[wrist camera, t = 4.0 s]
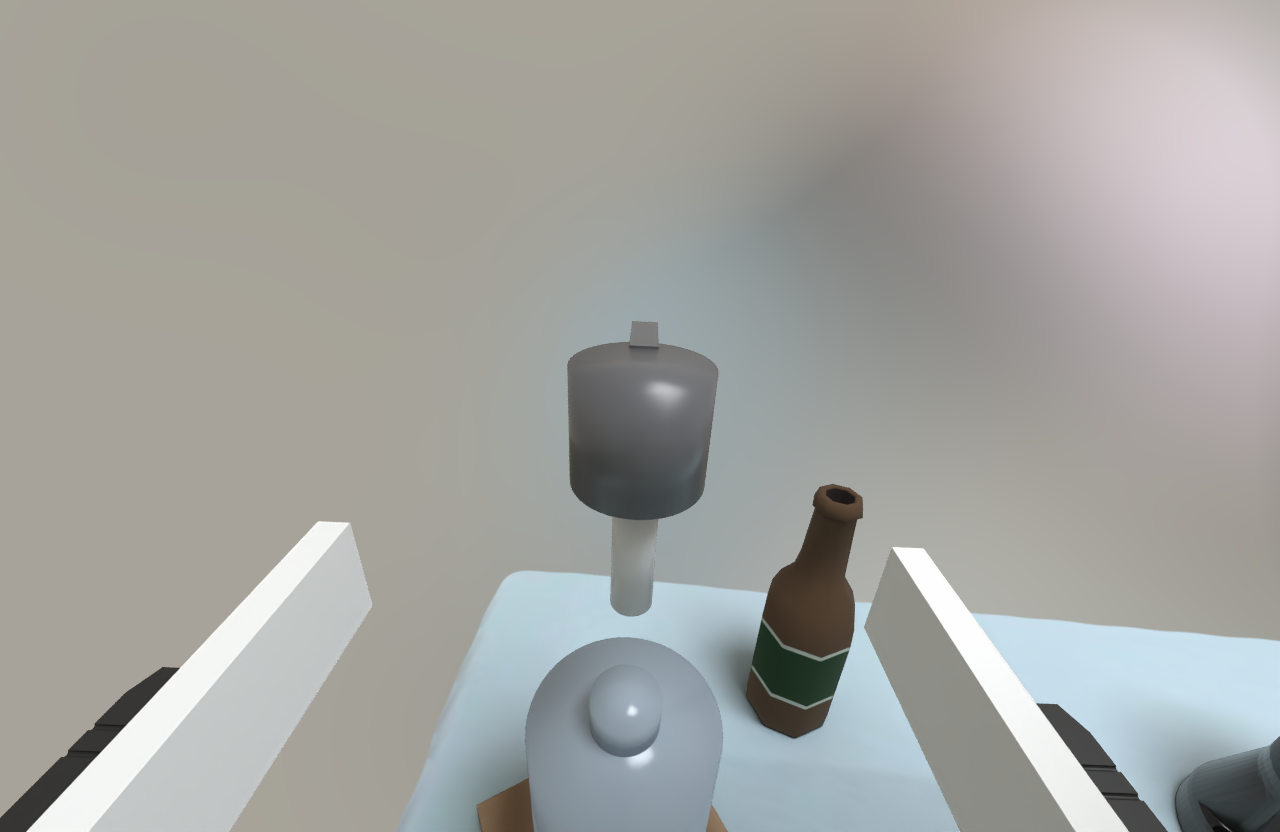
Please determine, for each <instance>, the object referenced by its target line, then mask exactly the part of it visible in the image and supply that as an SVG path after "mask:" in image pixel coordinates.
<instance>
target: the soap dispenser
mask: <svg viewBox="0 0 1280 832" xmlns="http://www.w3.org/2000/svg"><path fill="white" fill-rule="evenodd" d="M525 743H526V754H527V764H528V775H529V785H530V796H531V806H532V817H533V827H534V832H706V828H707V823H708V818H709V813H710V808H711V803H712V798H713V793H714V788H715V783H716V778H717V773H718V768H719V763H720V758H721V753H722V744H723V731H722V721H721V716H720V711H719V708H718V705H717V702H716V699H715V697H714V695H713V693H712V691H711V689H710V687H709V686H708V684H707V682H706V681H705V679H704V678H703V677H702V675H701V674H700V673H699V672H698V670H697V669H696V668H695V667H694V666H693V665H692V664H691V663H690V662H688V661H687V660H686V659H685V658H683V657H682V656H681V655H679V654H678V653H676V652H674V651H673V650H671V649H669V648H667V647H665V646H663V645H661V644H658V643H655V642H652V641H648V640H644V639H638V638H610V639H604V640H600V641H596V642H593V643H590V644H588V645H585V646H583V647H581V648H579V649H577V650H575V651H574V652H572V653H571V654H569V655H567V656H566V657H565V658H564V659H562V660H561V661H560V662H559V663H558V664H557V665H556V666H555V667H554V668H553V669H552V670H551V671H550V672H549V673H548V674H547V676H546V677H545V678H544V680H543V681H542V683H541V684H540V686H539V688H538V689H537V691H536V693H535V696H534V698H533V700H532V702H531V706H530V709H529V712H528V716H527V723H526V734H525Z"/></svg>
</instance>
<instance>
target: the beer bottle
mask: <svg viewBox="0 0 1280 832" xmlns="http://www.w3.org/2000/svg"><path fill="white" fill-rule="evenodd" d="M813 506H814V507H815V510H814V512H813V515H812V518H811V522H810V524H809V527H808V530H807V533H806V536H805V540H804V543H803V546H802V549H801V551H800V553H799V555H798V557H797V559H796V560H795V562H793V563H792V564H790V565H788V566H786V567H784V568H782V569H781V570H780V571H779V572H778V573H777V574H776V576H775V577H774V578H773V580H772V583H771V586H770V588H769V592H768V595H767V599H766V603H765V607H764V611H763V615H762V620H761V624H760V629H759V634H758V638H757V643H756V647H755V652H754V657H753V661H752V666H751V670H750V675H749V680H748V684H747V692H746V697H747V698H748V700H749V702H750V703H751V705H752V707H753V708H754V710H755V711H756V713H757V715H758V716H759V718H760V719H761V721H762V723H763V724H764V725H765V726H767V727H770V728H772V729H774V730H777V731H779V732H782V733H784V734H786V735H789V736H791V737H794V738H796V737H798V736H801V735H803V734H805V733H807V732H810V731H812V730H814V729H816V728H819V727H821V726H822V725H823V723H824V721H825V718H826V716H827V714H828V711H829V708H830V705H831V702H832V699H833V696H834V693H835V690H836V688H837V685H838V682H839V679H840V676H841V673H842V670H843V667H844V664H845V661H846V658H847V655H848V652H849V650H850V646H851V642H852V637H853V633H854V615H855V602H854V597H853V591H852V589H851V587H850V585H849V583H848V581H847V580H846V578H845V573H846V568H847V563H848V558H849V554H850V550H851V545H852V540H853V536H854V531H855V527H856V522H857V519H860V518H862V517H863V500H862V497H861V496H860V495H858V494H857V493H856V492H854V491H853V490H852V489H850V488H847V487H842V486H838V485H835V484H831V485H826V486H822V487H819V489H818V490H817V492H816V493H815V495H814V500H813Z"/></svg>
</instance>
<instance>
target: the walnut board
mask: <svg viewBox="0 0 1280 832" xmlns="http://www.w3.org/2000/svg"><path fill="white" fill-rule="evenodd" d="M477 809H478V814H479V819H480V824H481V828H482V832H534V827H533V817H532V806H531V796H530V785H529V778H528V779H526V780H524V781H522V782H520V783H518V784H516V785H515V786H513V787H511V788H509V789H507V790H505V791H503V792H501V793H499V794H497V795H495V796H493V797H492V798H490V799H488V800H486V801H484V802H482V803H480V804H478V805H477ZM706 832H728V831H727V830H726V828H725V826H724V825H723V823H722V821H721V819H720V818H719V816H718V814H717V813H716V811H715V809H714V807H713V806H712V804H711V808H710V813H709V818H708V823H707V828H706Z"/></svg>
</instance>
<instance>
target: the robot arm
mask: <svg viewBox="0 0 1280 832" xmlns="http://www.w3.org/2000/svg"><path fill="white" fill-rule="evenodd" d="M371 607H372V602H371V598H370V595H369V591H368V587H367V584H366V580H365V576H364V573H363V569H362V565H361V562H360V558H359V554H358V551H357V547H356V543H355V539H354V536H353V532H352V528H351V525H350V523H342V522H320V521H319V522H317V523H316V524H315V525H314V526H313V528H312V529H311V530H310V531H309V532H308V533H307V534H306V535H305V536H304V537H303V538H302V539H301V540H300V541H299V542H298V543H297V545H296V546H295V547H294V548H293V549H292V550H291V551H290V552H289V553H288V554H287V555H286V556H285V557H284V558H283V559H282V560H281V561H280V563H279V564H278V565H277V566H276V567H275V568H274V569H273V570H272V571H271V572H270V573H269V574H268V576H266V577H265V578H264V580H263V581H262V582H261V583H260V584H259V585H258V586H257V587H256V588H255V589H254V590H253V591H252V593H250V594H249V596H248V597H247V598H246V599H245V600H244V601H243V602H242V603H241V604H240V605H239V606H238V607H237V608H236V609H235V610H234V611H233V613H232V614H231V615H230V616H229V617H228V618H227V619H226V620H225V621H224V622H223V623H222V624H221V625H220V626H219V627H218V629H217V630H216V631H215V632H214V633H213V634H212V635H211V636H210V637H209V638H208V639H207V640H206V641H205V642H204V643H203V644H202V646H201V647H200V648H199V649H198V650H197V651H196V652H195V653H194V654H193V655H192V656H191V657H190V658H189V659H188V661H186V662H185V664H184V665H183V666H182V667H181V668H170V667H162V668H161V669H159V670H158V671H157V672H155V673H154V674H152V675H151V676H149V677H148V678H147V679H145V680H143V681H142V682H141V683H139V684H138V685H136V686H135V687H133V688H132V689H130V690H129V691H127V692H126V693H125V694H124V695H123V696H122V697H121V698H120V699H119V700H118V701H117V702H116V703H115V704H114V705H113V706H112V707H111V708H110V709H109V710H108V711H107V712H106V713H105V714H104V715H103V716H102V717H101V718H100V719H99V720H98V721H97V722H96V723H95V726H94V728H93V729H92V730H88V731H87V732H86V733H85V734H84V735H83V736H82V737H81V738H80V739H79V740H78V741H77V742H76V743H75V744H74V745H73V746H72V747H71V748H70V749H69V750H68V754H67V755H66V756H65V757H61V758H60V759H59V760H58V761H57V762H56V763H55V764H54V765H53V766H52V767H51V768H50V769H49V770H48V771H47V772H46V773H45V774H44V775H43V776H42V777H41V778H40V779H39V780H38V781H37V782H36V783H35V784H34V785H33V786H32V787H31V788H30V789H29V790H28V791H27V792H26V793H25V794H24V795H23V796H22V797H21V798H20V799H19V800H18V801H17V802H16V803H15V804H14V805H13V806H12V807H11V808H10V809H9V810H8V811H7V812H6V813H5V814H4V815H3V816H2V817H1V818H0V832H229V831H230V830H231V828H232V826H233V824H234V823H235V822H236V820H237V818H238V817H239V815H240V814H241V812H242V811H243V809H244V807H245V806H246V804H247V803H248V801H249V800H250V798H251V796H252V795H253V793H254V792H255V790H256V789H257V787H258V785H259V784H260V782H261V781H262V779H263V778H264V776H265V774H266V773H267V771H268V769H269V768H270V766H271V765H272V763H273V762H274V760H275V758H276V757H277V755H278V754H279V752H280V751H281V749H282V747H283V746H284V744H285V743H286V741H287V740H288V738H289V736H290V735H291V733H292V732H293V730H294V729H295V727H296V725H297V724H298V722H299V721H300V719H301V718H302V716H303V714H304V713H305V711H306V710H307V708H308V707H309V705H310V703H311V702H312V700H313V699H314V697H315V695H316V694H317V692H318V691H319V689H320V688H321V686H322V684H323V683H324V681H325V679H326V678H327V677H328V675H329V673H330V672H331V670H332V669H333V667H334V665H335V664H336V662H337V661H338V659H339V658H340V656H341V654H342V653H343V651H344V650H345V648H346V647H347V645H348V643H349V642H350V640H351V638H352V637H353V636H354V634H355V632H356V631H357V629H358V628H359V626H360V624H361V623H362V621H363V620H364V618H365V617H366V615H367V613H368V612H369V610H370V609H371ZM864 628H865V630H866V632H867V634H868V637H869V639H870V641H871V643H872V645H873V647H874V649H875V651H876V654H877V656H878V658H879V660H880V662H881V664H882V666H883V668H884V671H885V673H886V675H887V677H888V679H889V681H890V683H891V685H892V687H893V690H894V692H895V694H896V696H897V698H898V700H899V702H900V704H901V707H902V709H903V711H904V713H905V715H906V717H907V719H908V721H909V723H910V726H911V728H912V730H913V732H914V734H915V736H916V738H917V740H918V743H919V745H920V747H921V749H922V751H923V753H924V755H925V757H926V760H927V762H928V764H929V766H930V768H931V770H932V772H933V774H934V776H935V779H936V781H937V783H938V785H939V787H940V789H941V791H942V793H943V796H944V798H945V800H946V802H947V804H948V806H949V808H950V810H951V813H952V815H953V817H954V819H955V821H956V823H957V825H958V827H959V829H960V832H1168V831H1167V830H1166V829H1165V828H1164V826H1163V825H1162V824H1161V822H1160V821H1159V820H1158V819H1157V817H1156V816H1155V815H1154V814H1153V812H1152V811H1151V810H1150V808H1149V807H1148V806H1147V805H1146V803H1145V802H1144V801H1141V800H1140V799H1139V798H1138V793H1137V792H1136V791H1135V789H1134V788H1133V787H1132V786H1131V784H1130V783H1129V782H1128V780H1127V779H1126V778H1125V777H1124V775H1123V774H1122V773H1121V772H1118V771H1117V770H1116V765H1115V764H1114V763H1113V761H1112V760H1111V759H1110V757H1109V756H1108V755H1107V754H1106V752H1105V751H1104V750H1103V749H1102V747H1101V746H1100V745H1099V743H1098V742H1097V741H1096V740H1095V738H1094V737H1093V736H1092V735H1091V733H1090V732H1089V731H1088V730H1086V729H1085V728H1084V727H1083V726H1082V725H1081V724H1079V723H1078V722H1077V721H1076V720H1075V719H1074V718H1072V717H1071V716H1070V715H1069V714H1068V713H1067V712H1066V711H1064V710H1063V709H1062V708H1061V707H1060V706H1059V705H1057V704H1038V703H1035V702H1034V700H1033V699H1032V697H1031V696H1030V695H1029V693H1028V692H1027V691H1026V689H1025V688H1024V686H1023V685H1022V684H1021V682H1020V681H1019V680H1018V678H1017V677H1016V675H1015V674H1014V673H1013V671H1012V670H1011V669H1010V667H1009V666H1008V664H1007V663H1006V662H1005V660H1004V659H1003V658H1002V656H1001V655H1000V653H999V652H998V651H997V649H996V648H995V646H994V645H993V644H992V642H991V641H990V640H989V638H988V637H987V635H986V634H985V633H984V631H983V630H982V629H981V627H980V626H979V624H978V623H977V622H976V620H975V619H974V618H973V616H972V615H971V613H970V612H969V611H968V609H967V608H966V607H965V605H964V604H963V602H961V600H960V598H959V597H958V596H957V594H956V593H955V591H954V590H953V589H952V587H951V586H950V585H949V583H948V582H947V581H946V579H945V578H944V576H943V575H942V574H941V572H940V571H939V569H938V568H937V567H936V565H935V564H934V563H933V561H932V560H931V558H930V557H929V556H928V554H927V553H926V552H925V550H924V549H921V548H898V547H892V549H891V552H890V554H889V557H888V560H887V563H886V566H885V569H884V572H883V575H882V577H881V580H880V583H879V586H878V589H877V592H876V594H875V597H874V600H873V603H872V606H871V609H870V612H869V615H868V617H867V620H866V623H865V626H864ZM1176 809H1177V814H1178V818H1179V821H1180V824H1181V827H1182V829H1183V831H1184V832H1280V736H1279V737H1278V738H1277V739H1276V740H1275V741H1274V742H1273V743H1272V744H1271V745H1269V746H1266V747H1263V748H1259V749H1255V750H1251V751H1248V752H1244V753H1240V754H1236V755H1232V756H1229V757H1225V758H1221V759H1217V760H1214V761H1210V762H1207V763H1205V764H1203V765H1201V766H1199V767H1198V768H1196V769H1195V770H1194V771H1193V772H1192V773H1191V774H1190V775H1189V776H1188V777H1187V778H1186V779H1185V781H1184V782H1183V783H1182V784H1181V785H1180V787H1179V788H1178V791H1177V795H1176Z"/></svg>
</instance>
